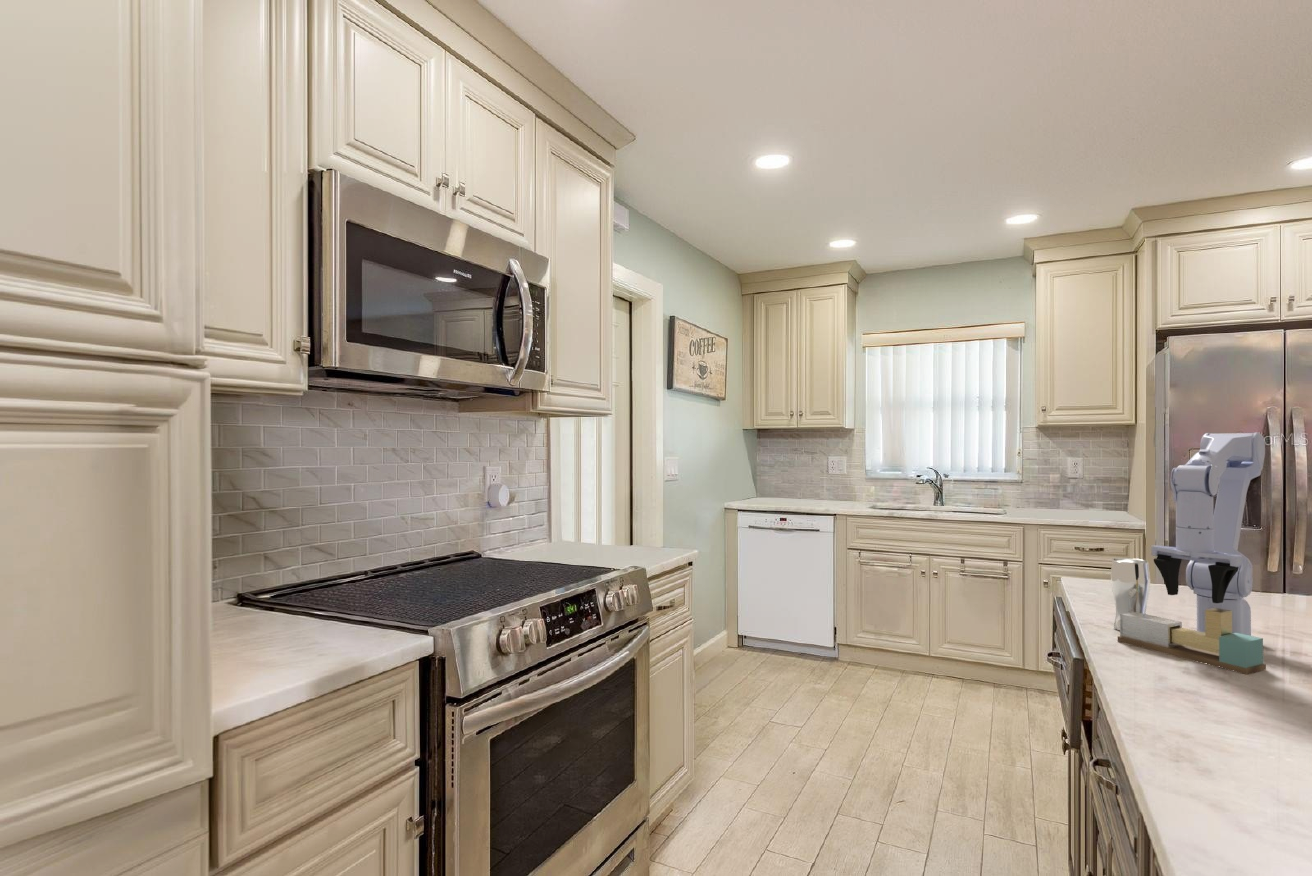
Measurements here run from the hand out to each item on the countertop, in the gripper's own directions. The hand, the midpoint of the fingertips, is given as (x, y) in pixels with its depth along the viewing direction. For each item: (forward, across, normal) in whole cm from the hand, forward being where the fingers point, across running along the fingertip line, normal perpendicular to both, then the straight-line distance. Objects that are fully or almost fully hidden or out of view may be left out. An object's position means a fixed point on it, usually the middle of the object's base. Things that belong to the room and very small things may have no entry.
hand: (1194, 598), depth 132 cm
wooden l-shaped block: (+8, +2, -2) cm, 9 cm away
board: (+10, 0, -2) cm, 11 cm away
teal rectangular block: (+9, +9, -2) cm, 13 cm away
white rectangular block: (+9, -7, -2) cm, 12 cm away
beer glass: (+10, -15, +6) cm, 19 cm away
